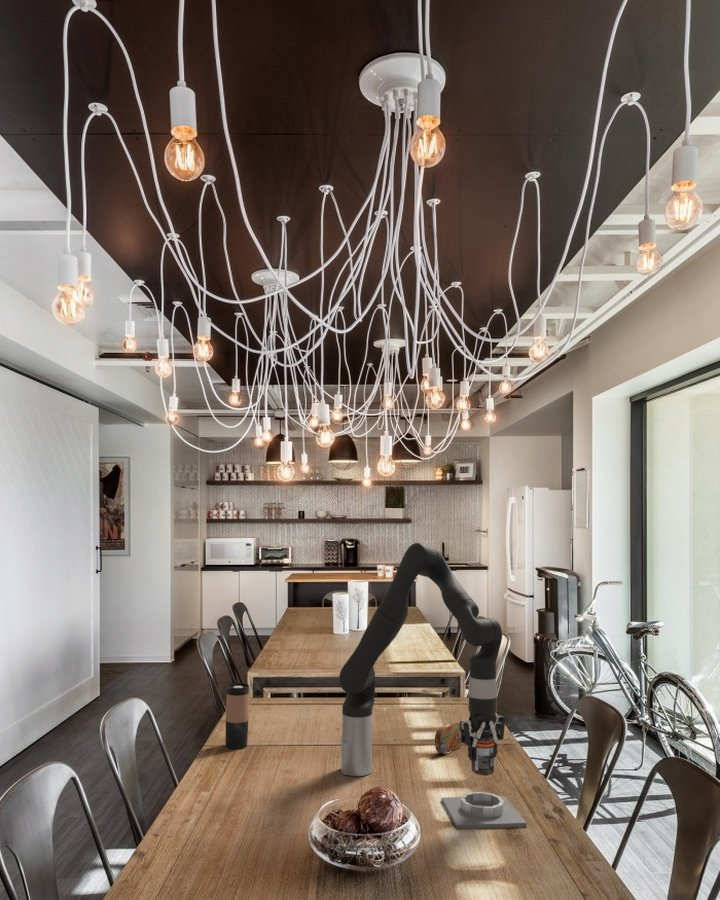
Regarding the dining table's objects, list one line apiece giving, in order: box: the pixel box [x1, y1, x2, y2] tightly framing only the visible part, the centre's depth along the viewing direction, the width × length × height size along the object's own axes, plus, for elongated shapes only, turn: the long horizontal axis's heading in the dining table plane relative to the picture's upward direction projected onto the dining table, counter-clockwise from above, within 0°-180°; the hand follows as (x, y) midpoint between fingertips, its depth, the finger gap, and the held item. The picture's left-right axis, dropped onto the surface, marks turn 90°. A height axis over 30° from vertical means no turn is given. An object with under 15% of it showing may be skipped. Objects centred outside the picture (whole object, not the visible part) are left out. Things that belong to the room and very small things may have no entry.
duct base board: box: [440, 795, 528, 830], centre depth 193 cm, size 18×18×1 cm
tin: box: [434, 722, 463, 755], centre depth 245 cm, size 15×3×8 cm, turn 143°
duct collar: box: [460, 791, 504, 818], centre depth 193 cm, size 11×11×2 cm
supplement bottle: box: [471, 729, 495, 776], centre depth 195 cm, size 6×6×11 cm
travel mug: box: [225, 682, 250, 750], centre depth 247 cm, size 8×8×20 cm
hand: (482, 758), depth 194 cm, fingers closed on supplement bottle, 6 cm apart
